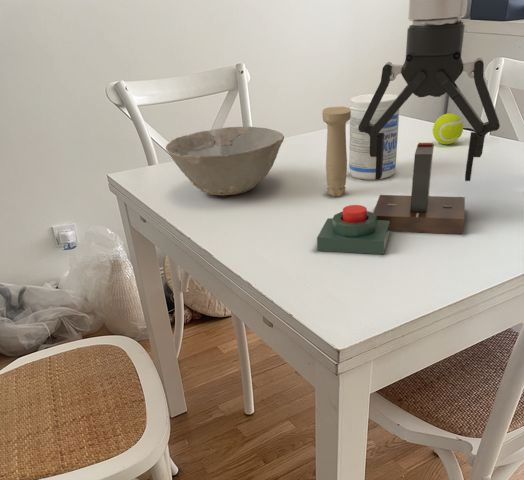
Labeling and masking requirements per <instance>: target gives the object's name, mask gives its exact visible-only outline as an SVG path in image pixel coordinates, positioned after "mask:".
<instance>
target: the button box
mask: <svg viewBox="0 0 524 480" xmlns="http://www.w3.org/2000/svg"><path fill="white" fill-rule="evenodd" d="M390 233H391V231H390V221H386V220H377V216H376V215H375V214H373V211H372V212H371V211H368V210H367V219H366V221H364V222H358V223H348V222H345V221H343V210H342V211H340V212H338V213H336V214H334V215H333V217H331V218H330V217H328V218H327V219H326V221H325V222H324V224H323V226H322V228H321V229H320V231H319V234H318V235H317V237H316V250H317V252H334V253H335V252H336V253H353V254H373V255H384V254H385V250H386V246H387V242H388V240H389V237H390Z"/></svg>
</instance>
